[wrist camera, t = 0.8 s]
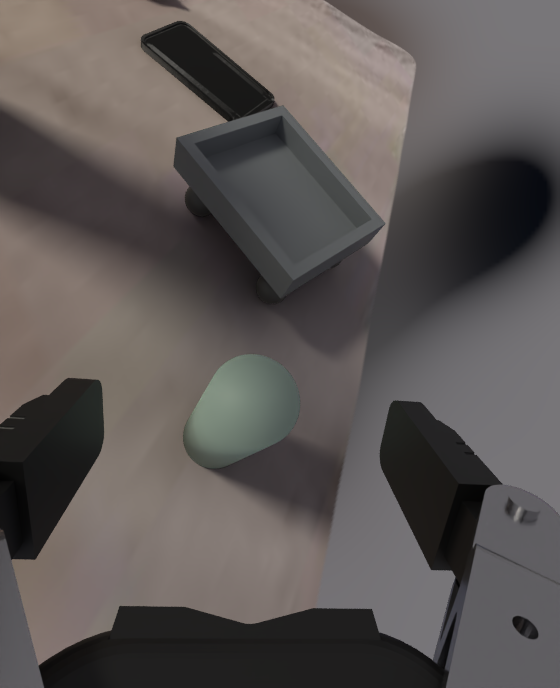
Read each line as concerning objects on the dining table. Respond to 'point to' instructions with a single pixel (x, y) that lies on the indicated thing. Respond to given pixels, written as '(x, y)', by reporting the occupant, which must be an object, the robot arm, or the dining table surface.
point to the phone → (206, 71)
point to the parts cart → (275, 198)
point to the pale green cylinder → (242, 411)
